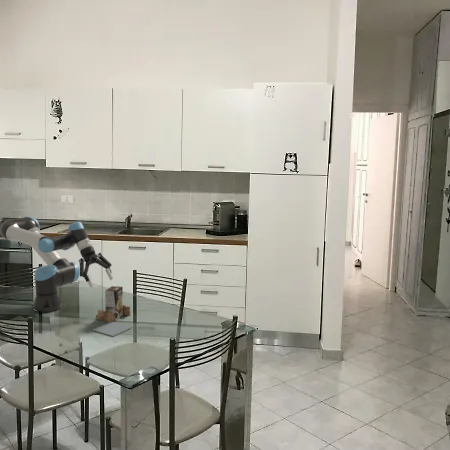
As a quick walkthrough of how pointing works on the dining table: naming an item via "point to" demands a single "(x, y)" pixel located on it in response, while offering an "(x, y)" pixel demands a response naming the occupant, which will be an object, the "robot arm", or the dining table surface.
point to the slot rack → (111, 314)
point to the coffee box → (114, 301)
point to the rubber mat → (112, 329)
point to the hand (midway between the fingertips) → (102, 282)
